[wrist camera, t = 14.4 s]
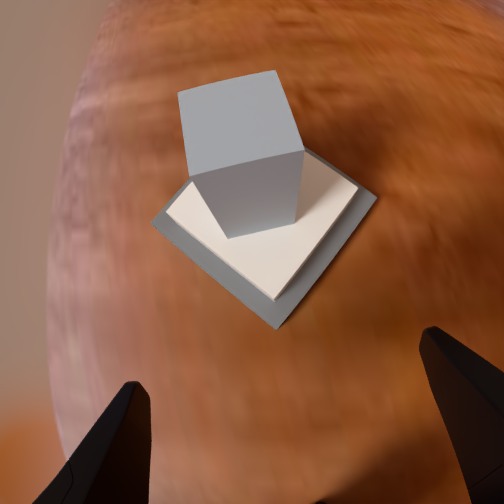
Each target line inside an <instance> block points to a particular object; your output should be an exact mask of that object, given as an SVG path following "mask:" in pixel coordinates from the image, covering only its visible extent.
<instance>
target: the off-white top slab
mask: <svg viewBox="0 0 504 504" xmlns="http://www.w3.org/2000/svg"><path fill="white" fill-rule="evenodd" d="M357 190H358V187H357V186H355V185H354V184H352V183H351V182H350V181H348V180H347V179H345V178H344V177H342V176H341V175H340V174H338V173H337V172H335V171H334V170H332V169H331V168H329V167H328V166H326V165H325V164H324V163H322V162H321V161H319V160H318V159H316V158H315V157H313V156H311V155H310V154H308V153H307V152H305V151H304V159H303V166H302V174H301V181H300V188H299V195H298V202H297V209H296V216H295V222H294V224H291V225H287V226H282V227H278V228H274V229H269V230H265V231H261V232H256V233H252V234H248V235H243V236H239V237H235V238H230V239H227V237H226V236H225V234H224V232H223V231H222V229H221V227H220V226H219V224H218V223H217V221H216V219H215V218H214V216H213V214H212V213H211V211H210V209H209V208H208V206H207V205H206V203H205V201H204V200H203V198H202V196H201V195H200V193H199V191H198V190H197V188H196V186H195V185H194V183H193V182H191V183H190V184H189V185H188V186H187V188H186V189H185V190H184V191H183V192H182V193H181V194H180V196H179V197H178V198H177V199H176V200H175V201H174V203H173V204H172V205H171V206H170V207H169V208H168V210H167V211H166V213H167V214H168V215H169V216H170V217H171V218H172V219H173V220H174V221H175V222H176V223H177V224H178V225H179V226H181V227H182V228H183V229H184V230H186V231H187V232H188V233H189V234H190V235H192V236H193V237H194V238H195V239H197V240H198V241H199V242H200V243H202V244H203V245H204V246H205V247H206V248H208V249H209V250H210V251H211V252H213V253H214V254H215V255H216V256H218V257H219V258H220V259H221V260H223V261H224V262H225V263H226V264H228V265H229V266H230V267H231V268H233V269H234V270H235V271H236V272H238V273H239V274H240V275H241V276H243V277H244V278H245V279H246V280H248V281H249V282H250V283H251V284H253V285H254V286H255V287H257V288H258V289H259V290H260V291H262V292H263V293H264V294H265V295H267V296H268V297H269V298H270V299H272V300H273V301H274V302H275V301H276V299H277V298H278V297H279V296H280V294H281V293H282V292H283V291H284V289H285V288H286V287H287V285H288V284H289V283H290V282H291V280H292V279H293V278H294V276H295V275H296V274H297V273H298V271H299V270H300V269H301V267H302V266H303V265H304V264H305V262H306V261H307V260H308V258H309V257H310V256H311V254H312V253H313V252H314V250H315V249H316V248H317V247H318V245H319V244H320V243H321V241H322V240H323V239H324V237H325V236H326V235H327V233H328V232H329V231H330V229H331V228H332V227H333V225H334V224H335V223H336V221H337V220H338V218H339V217H340V216H341V214H342V213H343V212H344V210H345V209H346V208H347V206H348V205H349V203H350V202H351V200H352V199H353V197H354V195H355V193H356V191H357Z"/></svg>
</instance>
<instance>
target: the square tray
mask: <svg viewBox="0 0 504 504" xmlns="http://www.w3.org/2000/svg"><path fill="white" fill-rule="evenodd" d="M304 149H305V152H307V153H308V154H310V155H311V156H313V157H315V158H316V159H318V160H319V161H321V162H322V163H324V164H325V165H326V166H328V167H329V168H331V169H332V170H334V171H335V172H337V173H338V174H340V175H341V176H342V177H344V178H345V179H347V180H348V181H350V182H351V183H352V184H354V185H355V186H357V187H358V190H357V191H356V193H355V195H354V197H353V199H352V200H351V202H350V203H349V205H348V206H347V208H346V209H345V210H344V212H343V213H342V214H341V216H340V217H339V218H338V220H337V221H336V223H335V224H334V225H333V227H332V228H331V229H330V231H329V232H328V233H327V235H326V236H325V237H324V239H323V240H322V241H321V243H320V244H319V245H318V247H317V248H316V249H315V250H314V252H313V253H312V254H311V256H310V257H309V258H308V260H307V261H306V262H305V264H304V265H303V266H302V267H301V269H300V270H299V271H298V273H297V274H296V275H295V276H294V278H293V279H292V280H291V282H290V283H289V284H288V285H287V287H286V288H285V289H284V291H283V292H282V293H281V294H280V296H279V297H278V298H277V299H276V301H275V302H274V301H273V300H272V299H270V298H269V297H268V296H267V295H265V294H264V293H263V292H262V291H260V290H259V289H258V288H257V287H255V286H254V285H253V284H251V283H250V282H249V281H248V280H246V279H245V278H244V277H243V276H241V275H240V274H239V273H238V272H236V271H235V270H234V269H233V268H231V267H230V266H229V265H228V264H226V263H225V262H224V261H223V260H221V259H220V258H219V257H218V256H216V255H215V254H214V253H213V252H211V251H210V250H209V249H208V248H206V247H205V246H204V245H203V244H202V243H200V242H199V241H198V240H197V239H195V238H194V237H193V236H192V235H190V234H189V233H188V232H187V231H186V230H184V229H183V228H182V227H181V226H179V225H178V224H177V223H176V222H175V221H174V220H173V219H172V218H171V217H170V216H169V215H168V214H167V213H166V211H167V210H168V208H169V207H170V206H171V205H172V204H173V203H174V201H175V200H176V199H177V198H178V197H179V196H180V194H181V193H182V192H183V191H184V190H185V189H186V188H187V186H188V185H189V184H190V183H191V182H192V180H191V178H189V180H188V181H187V182H186V183H185V184H184V185H183V186H182V187H181V188H180V190H179V191H178V192H177V193H176V194H175V195H174V196H173V197H172V199H171V200H170V201H169V202H168V203H167V204H166V205H165V207H164V208H163V209H162V210H161V211H160V212H159V214H158V215H157V216H156V217H155V218H154V219H153V221H152V222H151V223H150V224H151V225H153V226H154V227H155V228H156V229H157V230H158V231H159V232H160V233H162V234H163V235H164V236H165V237H166V238H167V239H168V240H170V241H171V242H172V243H173V244H174V245H175V246H176V247H178V248H179V249H180V250H181V251H182V252H183V253H184V254H186V255H187V256H188V257H189V258H190V259H191V260H193V261H194V262H195V263H196V264H197V265H198V266H200V267H201V268H202V269H203V270H204V271H205V272H207V273H208V274H209V275H210V276H211V277H212V278H214V279H215V280H216V281H217V282H218V283H220V284H221V285H222V286H223V287H224V288H226V289H227V290H228V291H229V292H230V293H232V294H233V295H234V296H235V297H236V298H238V299H239V300H240V301H241V302H242V303H244V304H245V305H246V306H247V307H248V308H250V309H251V310H252V311H253V312H255V313H256V314H257V315H258V316H260V317H261V318H262V319H263V320H264V321H266V322H267V323H268V324H269V325H271V326H272V327H273V328H274V329H276V330H277V329H278V328H279V327H280V325H281V324H282V323H283V322H284V320H285V319H286V318H287V317H288V315H289V314H290V313H291V312H292V311H293V309H294V308H295V307H296V306H297V304H298V303H299V302H300V301H301V299H302V298H303V297H304V295H305V294H306V293H307V292H308V290H309V289H310V288H311V287H312V285H313V284H314V283H315V281H316V280H317V279H318V278H319V276H320V275H321V274H322V272H323V271H324V270H325V268H326V267H327V266H328V264H329V263H330V262H331V261H332V259H333V258H334V257H335V255H336V254H337V253H338V251H339V250H340V249H341V247H342V246H343V244H344V243H345V242H346V240H347V239H348V238H349V236H350V235H351V234H352V232H353V231H354V229H355V228H356V227H357V225H358V224H359V223H360V221H361V220H362V218H363V217H364V216H365V214H366V213H367V211H368V210H369V209H370V207H371V206H372V204H373V203H374V201H375V200H376V199H377V197H376V196H375V195H373V194H372V193H371V192H369V191H368V190H367V189H365V188H364V187H363V186H361V185H360V184H358V183H357V182H356V181H354V180H353V179H352V178H350V177H349V176H347V175H346V174H345V173H343V172H342V171H340V170H339V169H337V168H336V167H335V166H333V165H332V164H330V163H329V162H327V161H326V160H324V159H323V158H321V157H320V156H318V155H317V154H315V153H314V152H312V151H311V150H309V149H308V148H306V147H305V146H304Z"/></svg>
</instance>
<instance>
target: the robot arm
mask: <svg viewBox="0 0 504 504" xmlns="http://www.w3.org/2000/svg"><path fill="white" fill-rule="evenodd" d="M419 352H420V355H421V358H422V361H423V364H424V368H425V371H426V374H427V377H428V381H429V384H430V387H431V390H432V393H433V396H434V398H435V401H436V403H437V406H438V408H439V410H440V413H441V415H442V418H443V421H444V423H445V426H446V428H447V431H448V434H449V436H450V439H451V442H452V444H453V447H454V450H455V453H456V456H457V458H458V461H459V464H460V467H461V470H462V473H463V476H464V479H465V483H466V486H467V489H468V493H469V496H470V500H471V503H472V504H504V372H502V371H501V370H499V369H498V368H497V367H495V366H494V365H492V364H491V363H490V362H488V361H487V360H485V359H484V358H482V357H481V356H479V355H478V354H477V353H475V352H474V351H472V350H471V349H469V348H468V347H466V346H465V345H464V344H462V343H461V342H459V341H458V340H456V339H455V338H453V337H452V336H450V335H449V334H447V333H446V332H444V331H443V330H441V329H440V328H438V327H437V326H432V327H429V328H426V329H424V331H423V333H422V337H421V341H420V344H419ZM151 442H152V440H151V408H150V397H149V395H148V393H147V392H146V390H145V389H144V388H143V386H142V385H141V384H140V382H138V381H128V382H126V383H125V384H124V385H123V386H122V388H121V389H120V390H119V392H118V393H117V394H116V396H115V397H114V398H113V400H112V401H111V402H110V404H109V405H108V406H107V408H106V409H105V411H104V412H103V413H102V415H101V416H100V417H99V419H98V420H97V421H96V423H95V424H94V425H93V427H92V428H91V429H90V431H89V432H88V433H87V435H86V436H85V438H84V439H83V440H82V442H81V443H80V444H79V446H78V447H77V448H76V450H75V451H74V453H73V454H72V455H71V457H70V458H69V460H68V461H67V462H66V463H65V465H64V466H63V468H62V469H61V470H60V472H59V473H58V474H57V476H56V477H55V478H54V479H53V481H52V482H51V483H50V484H49V485H48V487H47V488H46V489H45V490H44V491H43V492H42V493H41V494H40V495H39V496H38V497H37V499H36V500H35V501H34V502H33V503H32V504H148V503H149V477H150V459H151ZM316 504H326V503H324V502H318V503H316Z"/></svg>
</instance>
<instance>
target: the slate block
mask: <svg viewBox="0 0 504 504" xmlns="http://www.w3.org/2000/svg"><path fill="white" fill-rule="evenodd" d="M178 99H179V107H180V115H181V122H182V130H183V137H184V144H185V151H186V158H187V164H188V171H189V177H190V178H191V180H192V182H193V183H194V185H195V186H196V188H197V190H198V191H199V193H200V195H201V196H202V198H203V200H204V201H205V203H206V205H207V206H208V208H209V209H210V211H211V213H212V214H213V216H214V218H215V219H216V221H217V223H218V224H219V226H220V227H221V229H222V231H223V232H224V234H225V236H226V237H227V239H230V238H235V237H239V236H243V235H248V234H252V233H256V232H261V231H265V230H269V229H274V228H278V227H282V226H287V225H291V224H294V222H295V216H296V209H297V202H298V195H299V188H300V181H301V174H302V166H303V159H304V151H305V149H304V146H303V143H302V140H301V138H300V135H299V132H298V129H297V126H296V123H295V121H294V118H293V115H292V112H291V110H290V107H289V104H288V101H287V99H286V96H285V94H284V91H283V88H282V86H281V83H280V81H279V78H278V75H277V73H276V70H273V71H267V72H261V73H256V74H251V75H246V76H241V77H237V78H232V79H228V80H223V81H219V82H215V83H211V84H207V85H203V86H199V87H195V88H192V89H188V90H185V91H181V92H178Z"/></svg>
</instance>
